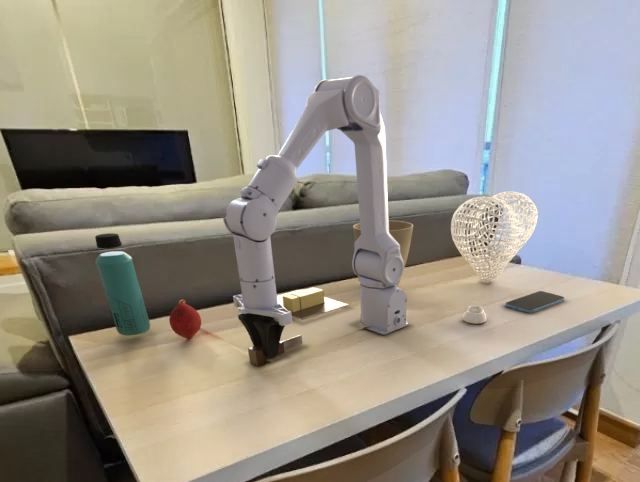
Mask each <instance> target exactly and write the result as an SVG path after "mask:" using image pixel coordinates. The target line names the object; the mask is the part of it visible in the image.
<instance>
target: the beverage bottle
mask: <svg viewBox="0 0 640 482" xmlns="http://www.w3.org/2000/svg"><path fill="white" fill-rule="evenodd" d="M94 239H95V243H96V248H97V249H115V248H119V247H122V246H123V243H122V241H121V237H120V235H119V234H118V233H113V232H110V233H109V232H108V233H100V234H96V235H95V236H94ZM95 265H96V267H97V271H98V274H99V277H100V280H101V284H102V289H103V291H104V294H105V296H106V302H107V304H108V307H109V312H110V315H111V318H112V322H113V325H114V327H115V328H114V329H115V330H116V331H117V333H118V334H119V335H121V336H135V335H136V336H137V335H141V334H145V333H146V332H148V331H149V330H151V325H152V323H151V321H150V318H149V313H148V308H147V307H146V303H145V300H144V296H143V295H144V294H143V292H142V288H141V286H140V284H139V280H138V277H137V272H136V269H135V265H134V261H133V257H132V256H131V255H130V254H128V253H126V252H125V251H123V250H122V251H121V250H119V251H118V250H115V251H114V250H113V251H106V252H103V253H99V255H98V256H97V258H96V259H95Z"/></svg>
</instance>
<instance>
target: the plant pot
mask: <svg viewBox="0 0 640 482" xmlns="http://www.w3.org/2000/svg"><path fill="white" fill-rule="evenodd" d="M352 229H353V230H352V231H353V236H354V242H355V241H356V240H357V239H358V238H359V237H360V235H361V227H360V222H358V223H355V224H353V226H352ZM413 229H414V224H413V223H412V222H407V221H404V220H403V221H402V220H389V233H390V234H391V236H392V237H393V238H394V239H395V240H396V241H397V242H398V244H399V245H400V253H401V256H402V259H403V262H404V269H405V267H406V265H407V261H408V256H409V252H410V248H411V243H412V242H411V241H412V237H413V232H414V231H413ZM401 280H402V277H401V278H400V280H399V281H398V284H397V285H396V286H397V287H398V288H399V285H400V283H401Z"/></svg>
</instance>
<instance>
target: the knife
mask: <svg viewBox="0 0 640 482" xmlns="http://www.w3.org/2000/svg"><path fill="white" fill-rule="evenodd" d="M301 344H303V335H302V334H298V335H296V336H293V337H290V338H287V339H284V340H280V344H279V350H278V355H277V356H279V355H281V354H285V350H287V349H290V348H293V347H296V346H298V345H301ZM247 350H248V359H249V363H250V364H251V365H253V366H254V367H256V368H260V367H262V366H265V365H268V364H270V363H271V361H269V360H268V359H270V358H273V357H274V358H275V356H273V357H270V358H268V357H266V354H265V352H264V347H263V343H262V344H259V345H256V346H253V345H252V346H250V347H248V348H247Z"/></svg>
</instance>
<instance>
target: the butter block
mask: <svg viewBox="0 0 640 482" xmlns="http://www.w3.org/2000/svg"><path fill="white" fill-rule="evenodd" d="M301 290H302V291H298V292H295V293H291V295H294V296H297V297H299V301H300V309H301V310H302V309H305V308H308V307H312V306H315V305H318V304H321V303H325V301H324V297H325V290H324V289H321V288H317V287H316V286H314V287H309V288H305V289H301Z"/></svg>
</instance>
